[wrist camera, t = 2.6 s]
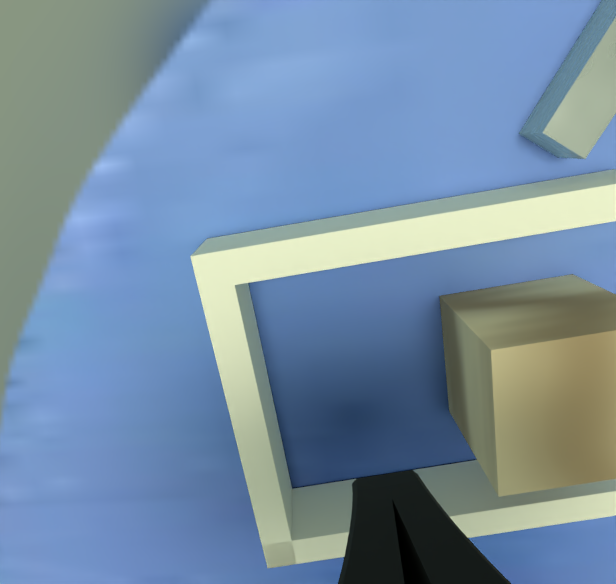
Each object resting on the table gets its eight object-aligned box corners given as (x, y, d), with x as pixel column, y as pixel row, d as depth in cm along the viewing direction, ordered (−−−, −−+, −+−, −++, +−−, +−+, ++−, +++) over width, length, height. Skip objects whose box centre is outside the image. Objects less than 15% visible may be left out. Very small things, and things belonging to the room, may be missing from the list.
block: (448, 409, 17) (498, 496, 13) (439, 295, 16) (490, 350, 12) (570, 390, 17) (661, 471, 13) (571, 273, 16) (672, 321, 12)
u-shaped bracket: (271, 513, 19) (267, 568, 16) (206, 239, 15) (190, 256, 13) (605, 461, 18) (652, 509, 16) (613, 169, 15) (673, 174, 13)
